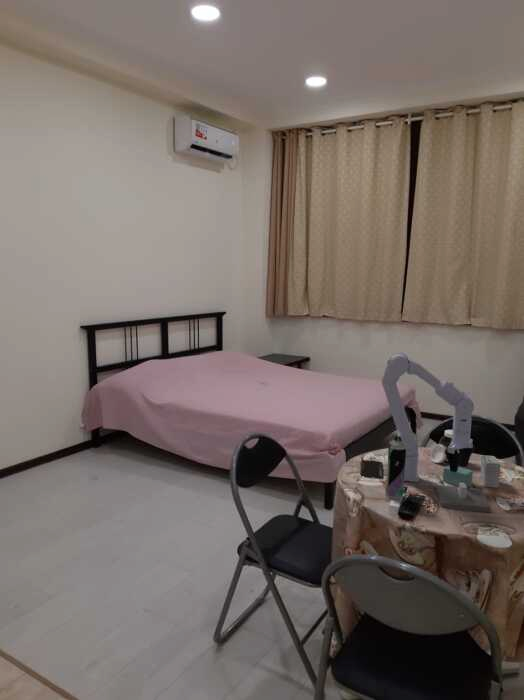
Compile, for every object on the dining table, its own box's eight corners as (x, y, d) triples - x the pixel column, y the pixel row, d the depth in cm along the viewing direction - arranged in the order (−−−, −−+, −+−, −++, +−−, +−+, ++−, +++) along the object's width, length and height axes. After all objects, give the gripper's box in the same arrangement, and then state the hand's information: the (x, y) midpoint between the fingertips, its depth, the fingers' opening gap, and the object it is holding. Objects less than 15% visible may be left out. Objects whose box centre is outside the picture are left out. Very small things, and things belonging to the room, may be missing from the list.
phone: (382, 461, 191) (382, 476, 176) (381, 464, 191) (382, 479, 177) (360, 459, 193) (359, 474, 178) (360, 462, 193) (359, 477, 178)
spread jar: (468, 462, 195) (471, 433, 193) (457, 470, 186) (460, 439, 185) (438, 454, 203) (440, 426, 201) (426, 461, 194) (428, 432, 193)
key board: (441, 507, 155) (443, 491, 155) (435, 488, 169) (436, 474, 168) (490, 512, 153) (491, 496, 152) (480, 493, 166) (481, 478, 166)
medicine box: (498, 488, 171) (501, 463, 170) (484, 487, 172) (487, 462, 170) (493, 479, 178) (495, 455, 177) (479, 478, 179) (481, 454, 178)
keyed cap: (464, 488, 170) (465, 474, 169) (442, 481, 175) (443, 467, 174) (471, 484, 173) (473, 470, 173) (450, 477, 179) (451, 463, 178)
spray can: (393, 500, 159) (397, 439, 156) (381, 493, 164) (385, 434, 161) (406, 497, 162) (410, 437, 159) (394, 491, 167) (398, 432, 164)
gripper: (463, 437, 164) (460, 477, 166) (482, 428, 174) (479, 466, 176) (442, 432, 169) (440, 471, 171) (462, 424, 179) (459, 461, 181)
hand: (458, 468), depth 173 cm, fingers open, 7 cm apart
